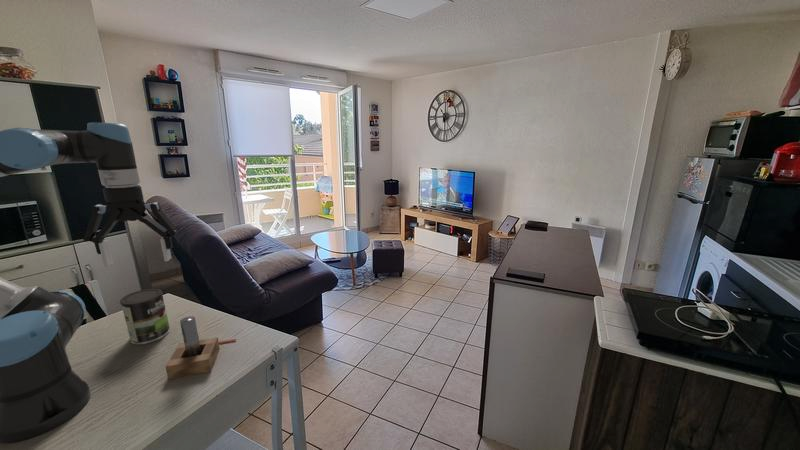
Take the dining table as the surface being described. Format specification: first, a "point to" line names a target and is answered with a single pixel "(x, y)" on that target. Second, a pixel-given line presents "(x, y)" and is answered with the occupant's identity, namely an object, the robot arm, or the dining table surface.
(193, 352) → the steel round rod
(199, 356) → the wooden square frame
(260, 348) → the dining table surface
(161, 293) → the coffee can
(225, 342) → the thin red bar
